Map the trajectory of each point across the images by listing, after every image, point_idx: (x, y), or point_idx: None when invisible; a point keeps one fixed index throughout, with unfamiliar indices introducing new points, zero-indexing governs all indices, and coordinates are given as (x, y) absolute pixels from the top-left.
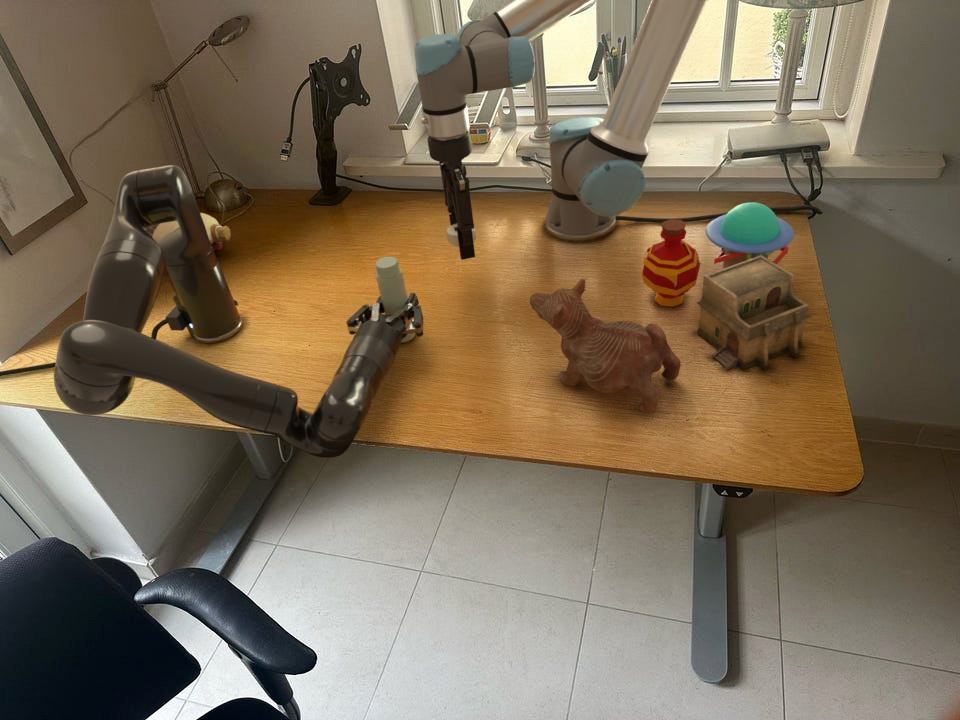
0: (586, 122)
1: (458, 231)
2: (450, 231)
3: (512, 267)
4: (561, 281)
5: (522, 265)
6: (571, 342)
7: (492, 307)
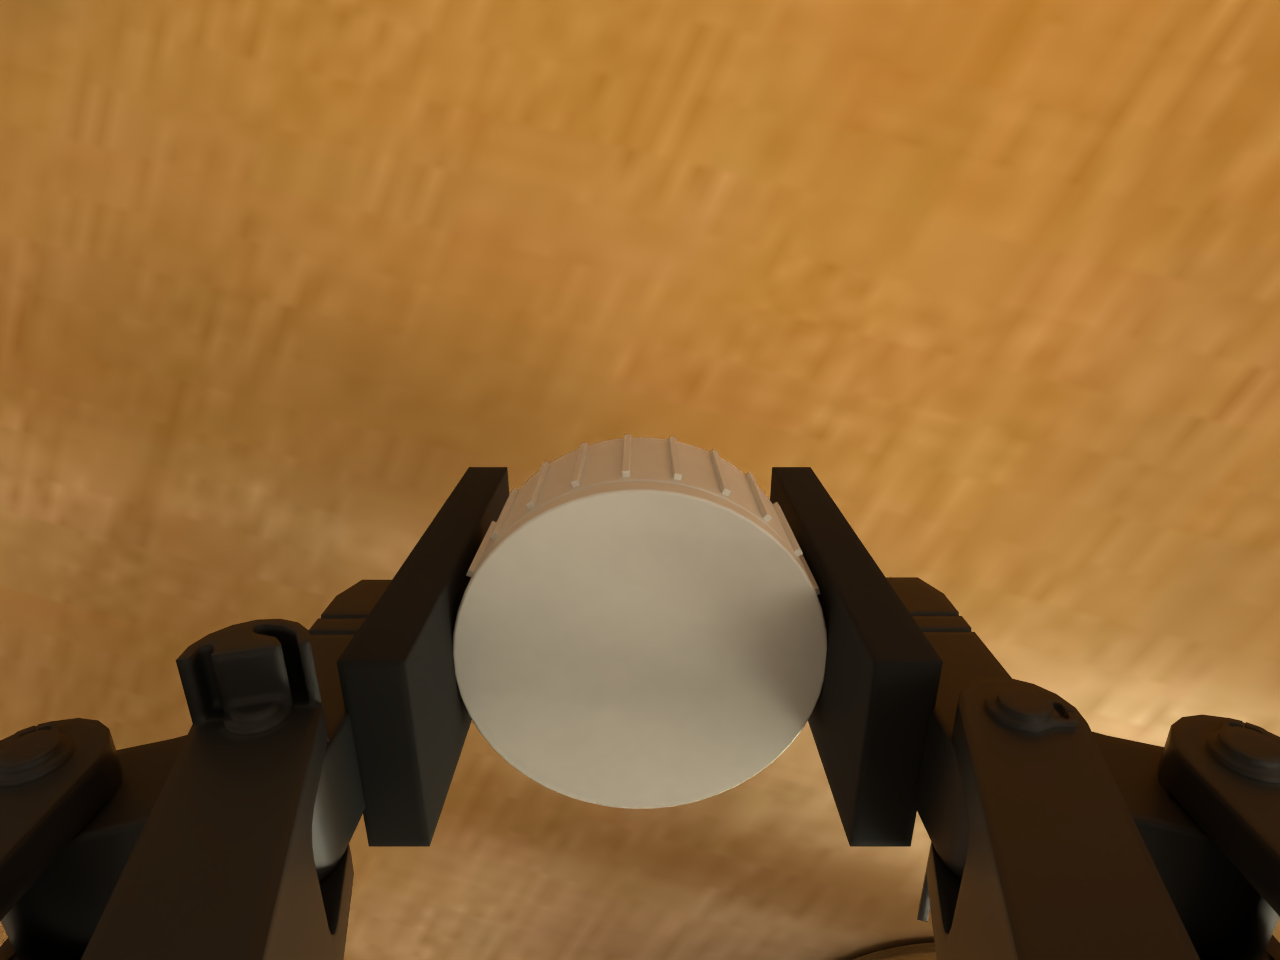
0: None
1: (352, 650)
2: (630, 530)
3: None
4: (450, 853)
5: None
6: None
7: (316, 489)
